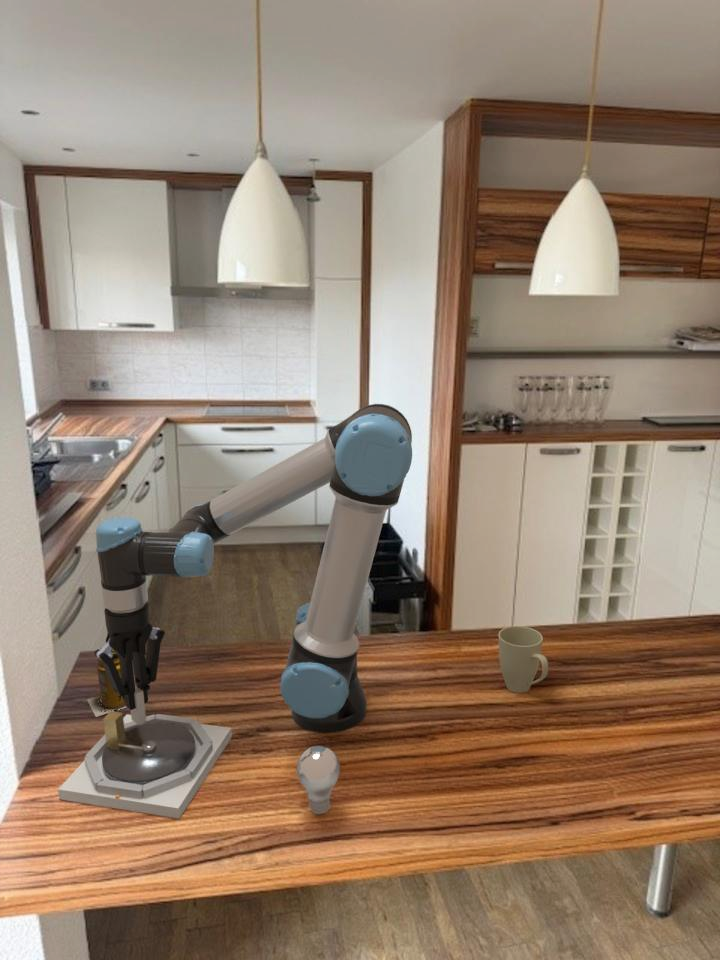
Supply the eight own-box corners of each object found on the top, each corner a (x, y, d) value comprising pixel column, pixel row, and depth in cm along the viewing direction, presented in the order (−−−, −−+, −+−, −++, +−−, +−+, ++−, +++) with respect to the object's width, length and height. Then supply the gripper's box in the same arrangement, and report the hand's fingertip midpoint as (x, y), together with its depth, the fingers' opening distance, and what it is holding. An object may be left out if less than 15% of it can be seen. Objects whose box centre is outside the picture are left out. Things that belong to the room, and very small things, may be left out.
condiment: (138, 704, 148) (132, 652, 145) (96, 717, 143) (89, 664, 140) (127, 688, 154) (122, 637, 150) (87, 700, 149) (80, 649, 146)
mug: (491, 696, 149) (493, 644, 146) (501, 672, 158) (503, 623, 154) (545, 706, 145) (548, 653, 142) (551, 682, 154) (555, 631, 150)
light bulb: (298, 799, 120) (295, 737, 117) (340, 796, 120) (338, 734, 117) (298, 829, 113) (295, 765, 110) (342, 826, 114) (340, 762, 111)
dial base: (232, 736, 137) (230, 721, 136) (179, 818, 116) (177, 800, 115) (127, 723, 141) (126, 707, 140) (59, 799, 121) (56, 781, 120)
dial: (210, 733, 134) (207, 700, 132) (169, 791, 119) (166, 754, 117) (132, 723, 137) (128, 690, 135) (84, 778, 122) (79, 742, 120)
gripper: (147, 587, 134) (158, 698, 140) (81, 610, 124) (96, 728, 131) (170, 598, 129) (180, 713, 135) (102, 623, 119) (117, 745, 126)
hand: (138, 720), depth 133 cm, fingers closed
